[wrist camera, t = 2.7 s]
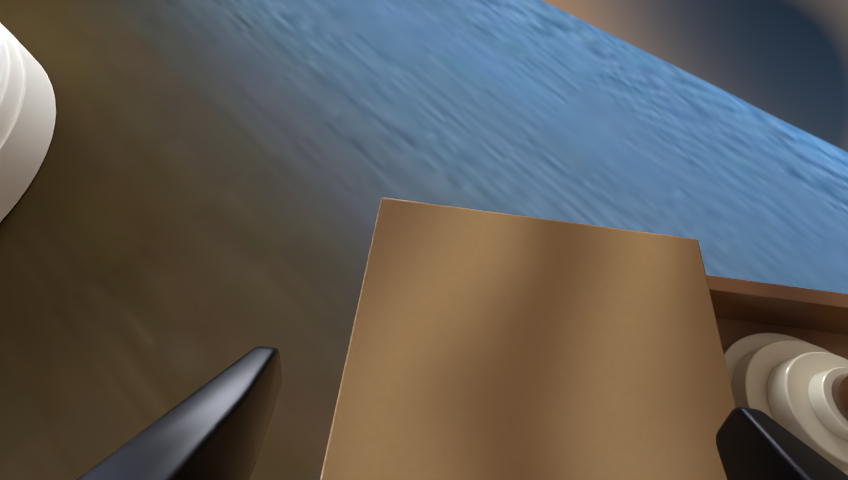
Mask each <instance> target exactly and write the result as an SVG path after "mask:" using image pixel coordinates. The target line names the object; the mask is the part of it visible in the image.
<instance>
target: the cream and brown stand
mask: <svg viewBox="0 0 848 480" xmlns="http://www.w3.org/2000/svg"><path fill="white" fill-rule="evenodd" d="M723 353H724V357H725V361H726V366H727V370H728V375H729V379H730V383H731V388H732V392H733V397H734V401H735V405H736V407H744V408H752V409H757V410H760V411H762V412H764V413H765V414H767V415H768V416H769V417H770V418H772V419H773V420H774V421H776V422H777V423H778V424H780V425H781V426H782V427H784V428H785V429H786V430H788V431H789V432H790V433H792V434H793V435H794V436H796V437H797V438H798V439H800V440H801V441H802V442H804V443H805V444H806V445H808V446H809V447H810V448H812V449H813V450H814V451H816V452H817V453H818V454H820V455H821V456H822V457H824V458H825V459H826V460H828V461H829V462H830V463H832V464H833V465H834V466H836V467H837V468H838V469H840V470H841V471H842V472H844V473H845V474H846V475H848V360H847V359H845V358H842V357H840V356H837V355H835V354H833V353H831V352H829V351H827V350H825V349H823V348H821V347H818V346H816V345H813V344H810V343H808V342H806V341H803V340H800V339H798V338H795V337H791V336H788V335H783V334H777V333H757V334H753V335H749V336H746V337H744V338H741V339H739V340H737V341H734V342H733V343H731V344H730V345H728V346H727V347H726V348H725V349H724V350H723Z"/></svg>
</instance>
